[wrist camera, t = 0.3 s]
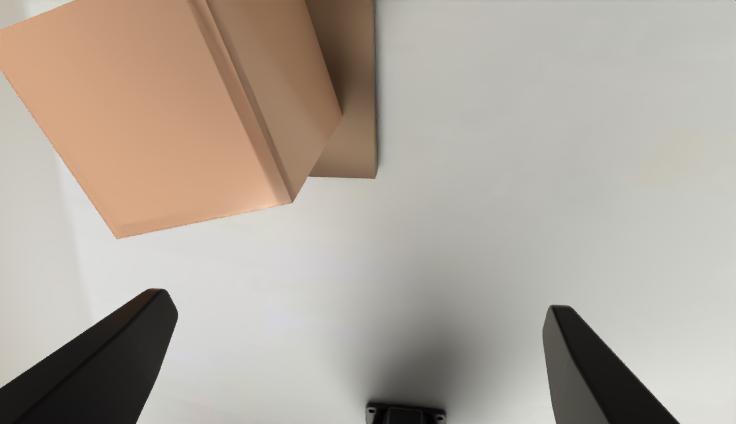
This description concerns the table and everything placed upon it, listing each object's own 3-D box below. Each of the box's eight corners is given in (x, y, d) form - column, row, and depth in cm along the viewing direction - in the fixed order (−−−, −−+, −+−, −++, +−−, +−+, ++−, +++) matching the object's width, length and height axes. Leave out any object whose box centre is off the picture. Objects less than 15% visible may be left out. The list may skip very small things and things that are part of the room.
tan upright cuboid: (342, 116, 21) (292, 203, 14) (221, 147, 23) (116, 239, 16) (290, -42, 18) (186, -45, 10) (153, 9, 20) (-21, 38, 12)
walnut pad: (377, 170, 24) (375, 178, 23) (179, 164, 25) (170, 171, 24) (372, -89, 18) (369, -91, 17) (112, -76, 19) (97, -78, 18)
